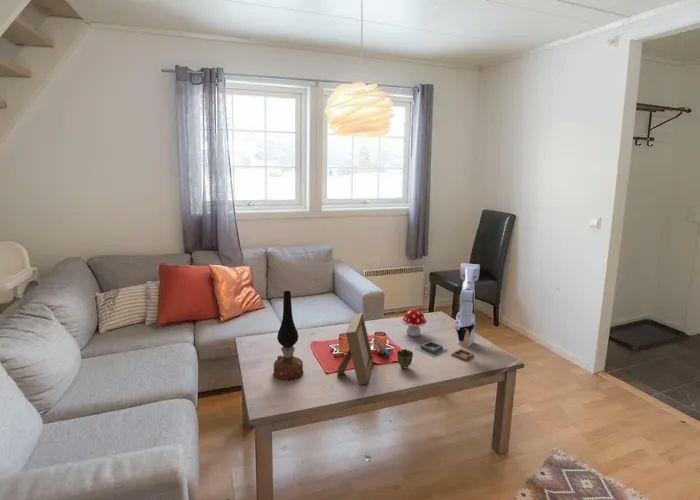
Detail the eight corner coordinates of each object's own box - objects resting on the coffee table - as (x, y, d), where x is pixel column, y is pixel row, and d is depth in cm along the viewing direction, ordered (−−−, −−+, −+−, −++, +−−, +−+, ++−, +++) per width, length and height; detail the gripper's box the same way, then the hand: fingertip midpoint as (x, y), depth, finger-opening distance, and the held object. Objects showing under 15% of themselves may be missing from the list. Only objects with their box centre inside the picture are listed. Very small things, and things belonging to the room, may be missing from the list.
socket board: (428, 343, 225) (429, 338, 224) (447, 351, 217) (448, 346, 216) (414, 350, 217) (415, 344, 216) (433, 359, 209) (434, 353, 208)
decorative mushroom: (428, 332, 240) (430, 307, 236) (421, 341, 227) (423, 315, 224) (405, 327, 245) (406, 303, 242) (397, 336, 233) (398, 311, 230)
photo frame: (373, 361, 205) (374, 313, 199) (368, 385, 184) (368, 332, 178) (343, 359, 207) (343, 311, 201) (334, 382, 186) (334, 329, 180)
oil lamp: (303, 386, 188) (320, 307, 176) (269, 383, 185) (284, 303, 173) (301, 367, 201) (317, 292, 189) (269, 365, 198) (283, 288, 186)
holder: (459, 351, 217) (459, 347, 216) (475, 358, 210) (475, 354, 210) (449, 357, 211) (449, 353, 210) (465, 363, 204) (465, 359, 204)
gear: (391, 355, 208) (377, 341, 207) (383, 364, 208) (369, 350, 207) (388, 348, 219) (375, 335, 218) (380, 356, 219) (367, 343, 218)
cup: (402, 373, 194) (403, 357, 193) (393, 366, 201) (394, 350, 199) (415, 369, 198) (416, 354, 196) (406, 362, 204) (407, 347, 202)
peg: (462, 340, 212) (463, 327, 210) (469, 343, 209) (471, 330, 207) (457, 343, 209) (458, 329, 207) (464, 346, 206) (466, 332, 204)
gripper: (466, 307, 213) (464, 332, 216) (450, 314, 203) (448, 340, 206) (479, 311, 208) (477, 337, 211) (463, 319, 198) (461, 345, 201)
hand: (463, 339), depth 208 cm, fingers closed on peg, 4 cm apart
